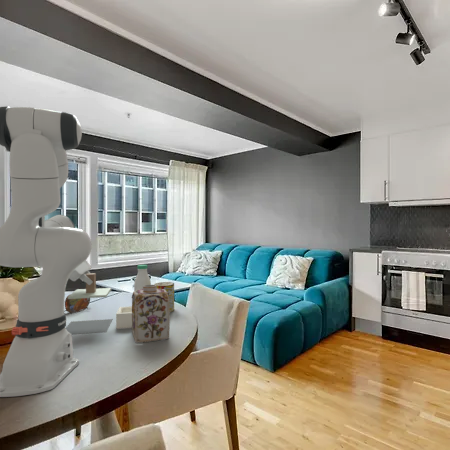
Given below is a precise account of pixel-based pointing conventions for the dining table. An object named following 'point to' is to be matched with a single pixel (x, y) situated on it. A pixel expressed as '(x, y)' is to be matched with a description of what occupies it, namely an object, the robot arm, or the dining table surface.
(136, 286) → the milk bottle
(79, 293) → the lid
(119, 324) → the dish
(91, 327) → the mat
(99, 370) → the dining table surface
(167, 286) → the yellow labeled can
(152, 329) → the decorative jar
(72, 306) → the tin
